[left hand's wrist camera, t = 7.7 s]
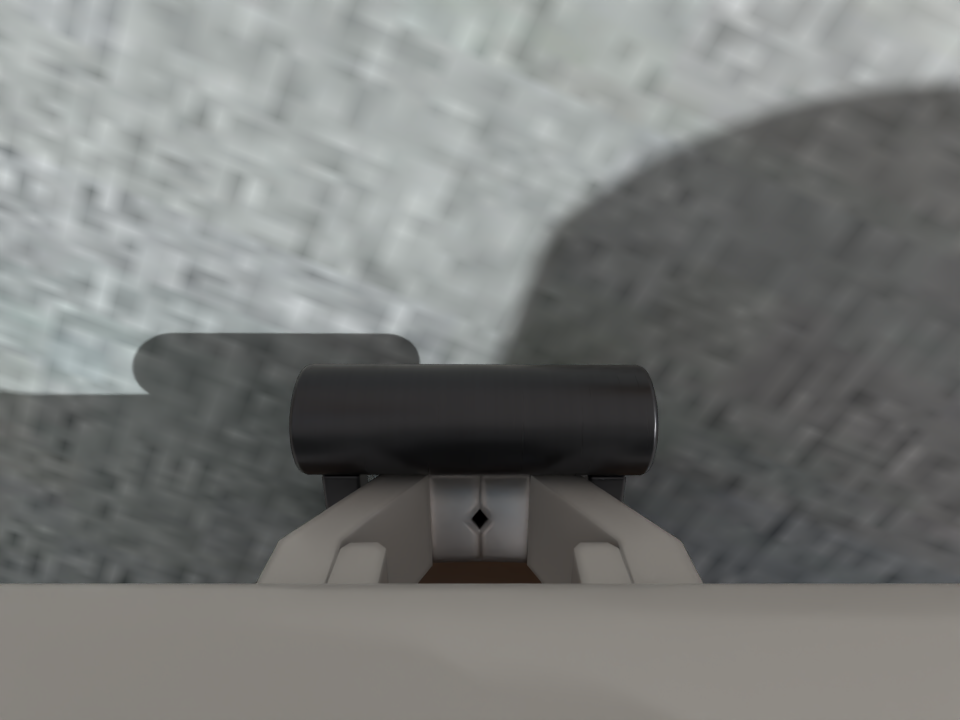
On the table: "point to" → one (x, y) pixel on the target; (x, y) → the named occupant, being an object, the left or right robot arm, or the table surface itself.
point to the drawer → (473, 430)
